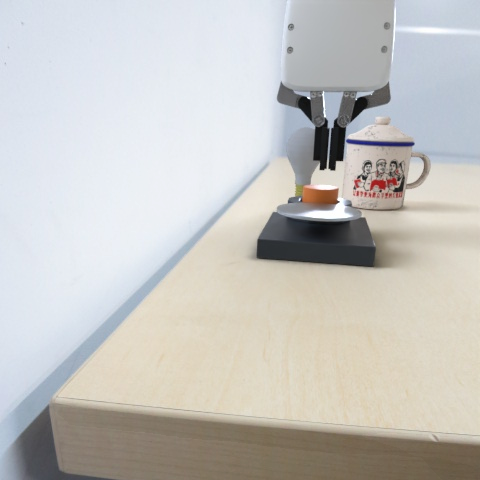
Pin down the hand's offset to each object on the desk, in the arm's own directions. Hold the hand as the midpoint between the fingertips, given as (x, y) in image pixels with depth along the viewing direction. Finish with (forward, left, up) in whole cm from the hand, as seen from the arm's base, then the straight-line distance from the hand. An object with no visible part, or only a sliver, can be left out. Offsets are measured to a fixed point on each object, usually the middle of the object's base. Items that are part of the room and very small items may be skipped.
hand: (327, 168), depth 50 cm
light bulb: (-7, -20, -7) cm, 22 cm away
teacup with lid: (-17, -15, -7) cm, 24 cm away
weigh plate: (+4, +6, -3) cm, 8 cm away
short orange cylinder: (+1, 0, -4) cm, 4 cm away
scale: (+3, +4, -7) cm, 8 cm away
